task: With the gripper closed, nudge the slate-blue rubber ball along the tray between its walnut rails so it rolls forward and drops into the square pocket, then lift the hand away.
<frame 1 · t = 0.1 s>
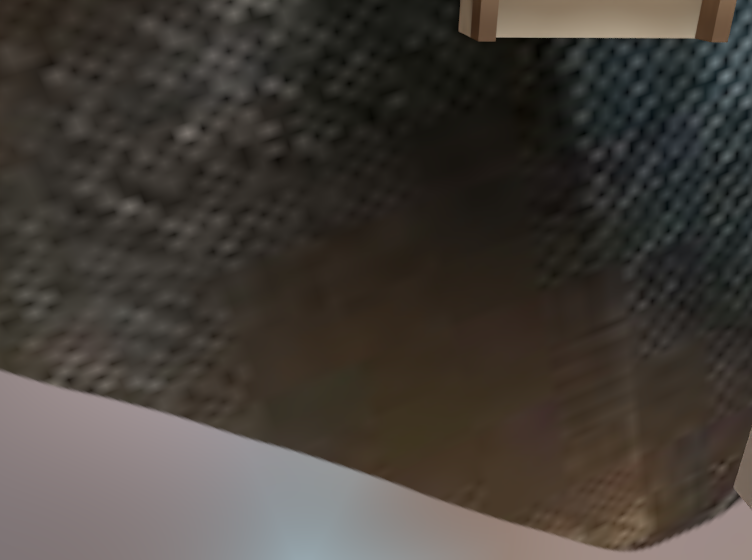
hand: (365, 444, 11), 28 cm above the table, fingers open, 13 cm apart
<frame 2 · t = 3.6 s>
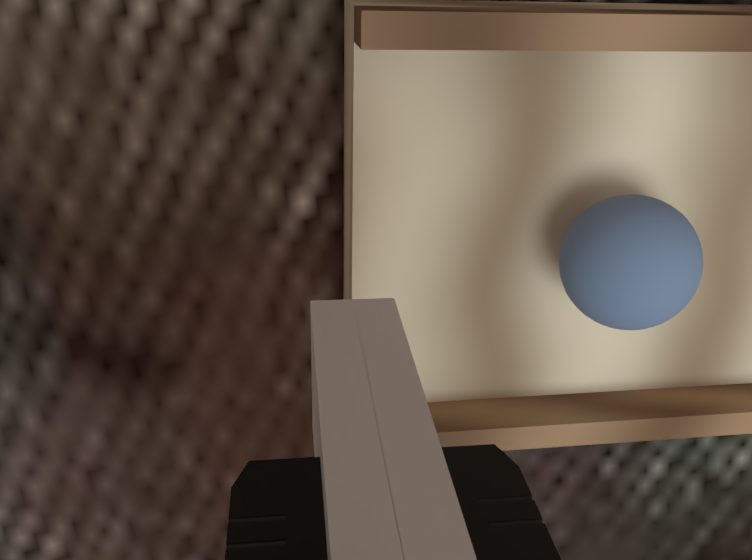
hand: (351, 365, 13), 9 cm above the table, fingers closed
ball: (628, 262, 18), point 4 cm above the table, touching tray
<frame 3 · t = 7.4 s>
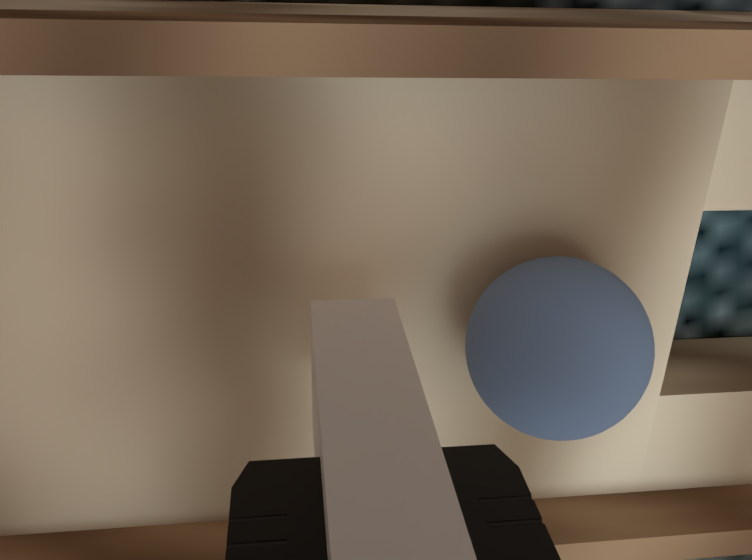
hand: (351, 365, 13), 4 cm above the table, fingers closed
tray: (407, 269, 17), on the table
ball: (557, 347, 14), point 4 cm above the table, tilted 28°, touching tray
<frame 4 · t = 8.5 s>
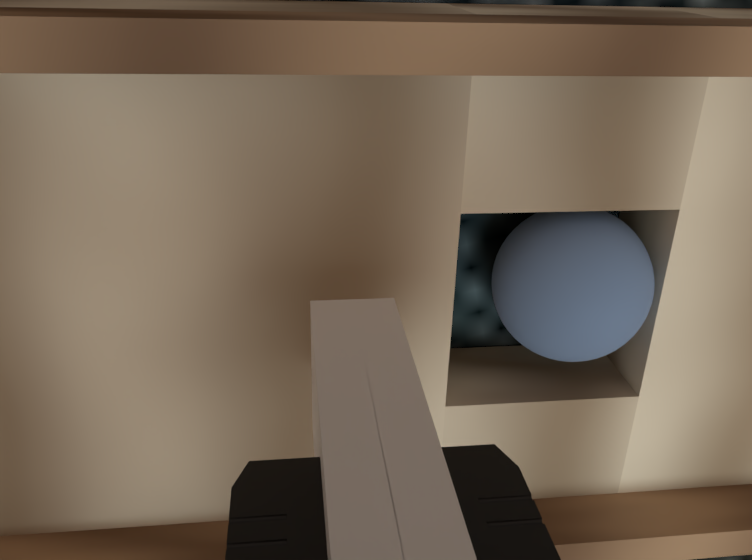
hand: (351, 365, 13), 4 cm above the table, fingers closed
tray: (189, 274, 17), on the table
ball: (570, 283, 16), point 2 cm above the table, tilted 107°
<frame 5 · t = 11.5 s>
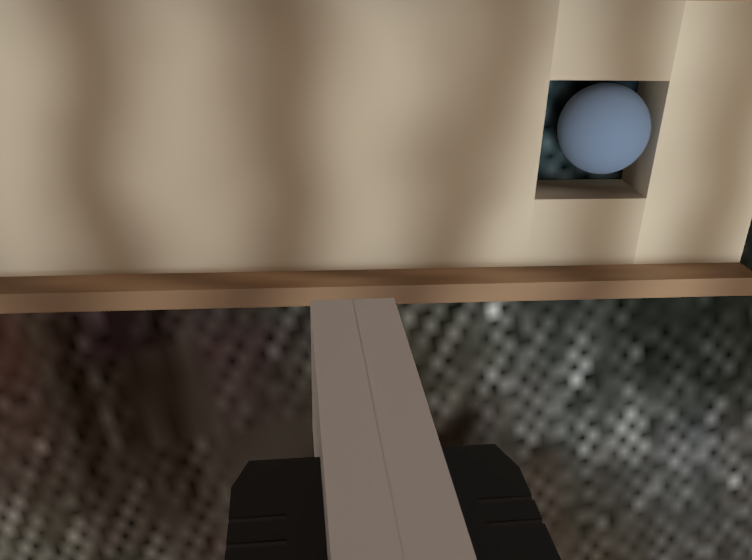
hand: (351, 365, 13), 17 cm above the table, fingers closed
tray: (385, 126, 29), on the table
ball: (603, 128, 28), point 2 cm above the table, tilted 113°
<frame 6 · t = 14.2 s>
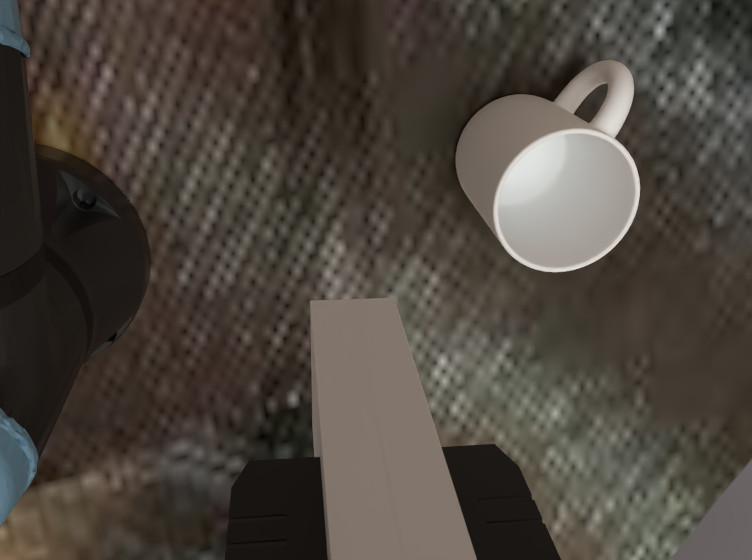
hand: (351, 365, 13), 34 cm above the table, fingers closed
mug: (528, 129, 48), on the table
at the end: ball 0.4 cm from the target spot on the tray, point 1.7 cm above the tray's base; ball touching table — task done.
